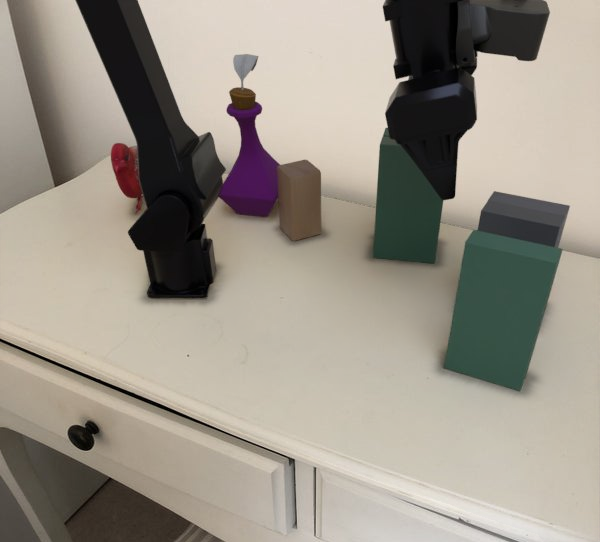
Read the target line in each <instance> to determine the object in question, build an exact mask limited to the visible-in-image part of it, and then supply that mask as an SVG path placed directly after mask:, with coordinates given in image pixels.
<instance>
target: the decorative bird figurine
mask: <svg viewBox="0 0 600 542" xmlns="http://www.w3.org/2000/svg"><path fill="white" fill-rule="evenodd" d="M110 161H111V167H112V170H113V173H114V176H115V179H116V182H117V185H118V187H119V190H120V191H121V193H122V194H123V195H124V196H125V197H126V198H128V199H136V205H135V213H134V214H138V211H141V209H142V205H143V198H144V197H143V193H142V190H141V186H140V183H139V175H138V153H137V145H131V146H128V145H127V144H125V143H122V142H116V143H114V144H113V145H112V147H111V150H110Z"/></svg>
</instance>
